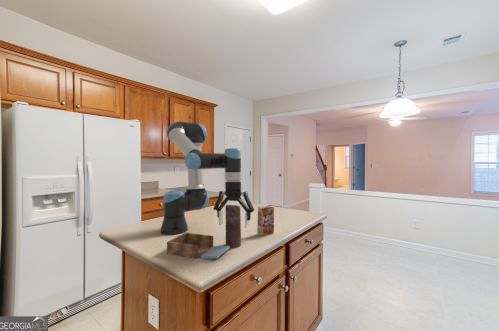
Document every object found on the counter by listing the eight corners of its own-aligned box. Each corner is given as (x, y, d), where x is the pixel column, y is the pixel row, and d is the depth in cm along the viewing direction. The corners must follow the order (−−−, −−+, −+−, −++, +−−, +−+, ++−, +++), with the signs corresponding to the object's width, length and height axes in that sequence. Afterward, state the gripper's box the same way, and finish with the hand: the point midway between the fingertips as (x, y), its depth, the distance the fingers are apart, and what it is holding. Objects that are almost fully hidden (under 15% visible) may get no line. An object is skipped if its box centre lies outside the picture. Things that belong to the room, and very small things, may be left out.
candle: (225, 244, 113) (225, 203, 113) (240, 243, 114) (240, 203, 113) (225, 250, 106) (225, 207, 105) (241, 249, 106) (241, 206, 106)
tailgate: (198, 256, 96) (216, 255, 93) (212, 246, 107) (229, 245, 104) (198, 259, 96) (217, 258, 93) (212, 248, 107) (230, 248, 104)
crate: (167, 255, 100) (166, 242, 100) (186, 244, 113) (186, 232, 113) (196, 260, 95) (196, 246, 95) (213, 248, 108) (213, 235, 108)
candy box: (261, 236, 125) (261, 208, 125) (257, 234, 129) (257, 207, 128) (274, 233, 130) (274, 206, 129) (269, 231, 133) (269, 205, 133)
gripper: (206, 181, 110) (206, 225, 110) (255, 182, 101) (255, 230, 101) (213, 180, 117) (214, 221, 117) (260, 180, 108) (261, 225, 108)
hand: (233, 225), depth 109 cm, fingers open, 13 cm apart
